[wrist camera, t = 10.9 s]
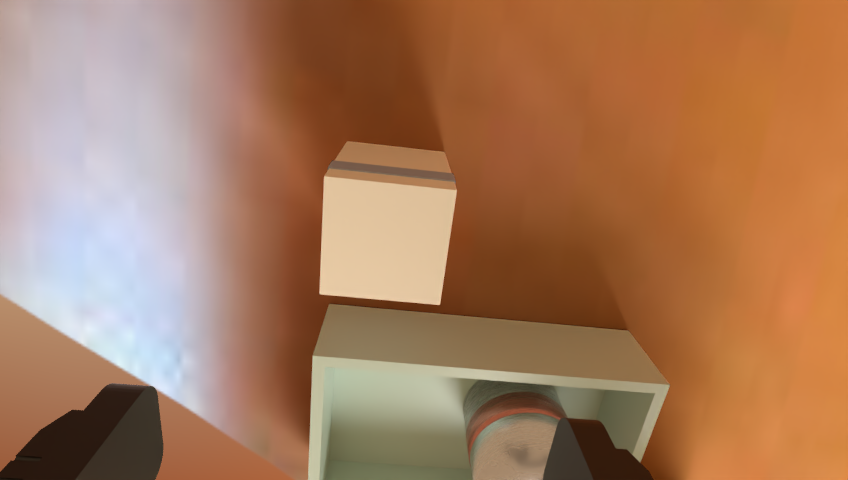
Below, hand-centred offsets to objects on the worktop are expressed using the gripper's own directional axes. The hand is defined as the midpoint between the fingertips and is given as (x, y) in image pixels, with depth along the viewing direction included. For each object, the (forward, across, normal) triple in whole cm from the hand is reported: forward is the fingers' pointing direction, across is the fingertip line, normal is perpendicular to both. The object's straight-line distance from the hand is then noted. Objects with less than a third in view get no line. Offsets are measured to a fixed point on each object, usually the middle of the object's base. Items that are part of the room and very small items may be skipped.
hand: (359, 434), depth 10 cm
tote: (+17, -6, +13) cm, 22 cm away
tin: (+16, -9, +13) cm, 23 cm away
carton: (+17, 0, 0) cm, 17 cm away
